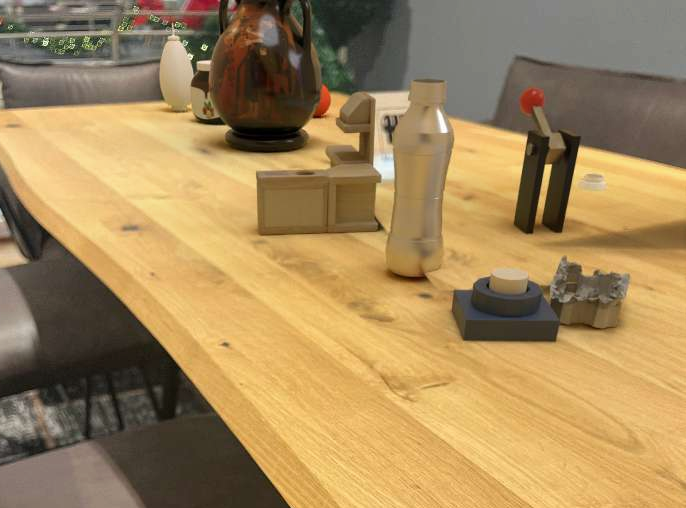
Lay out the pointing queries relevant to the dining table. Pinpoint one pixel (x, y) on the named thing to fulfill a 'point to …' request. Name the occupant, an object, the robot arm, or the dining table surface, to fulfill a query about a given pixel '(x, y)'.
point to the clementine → (323, 102)
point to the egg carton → (587, 295)
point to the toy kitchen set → (326, 184)
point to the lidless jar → (592, 182)
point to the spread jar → (203, 96)
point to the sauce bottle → (175, 74)
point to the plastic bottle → (420, 181)
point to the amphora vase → (265, 75)
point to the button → (508, 281)
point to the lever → (542, 123)
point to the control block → (504, 314)
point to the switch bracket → (556, 187)
